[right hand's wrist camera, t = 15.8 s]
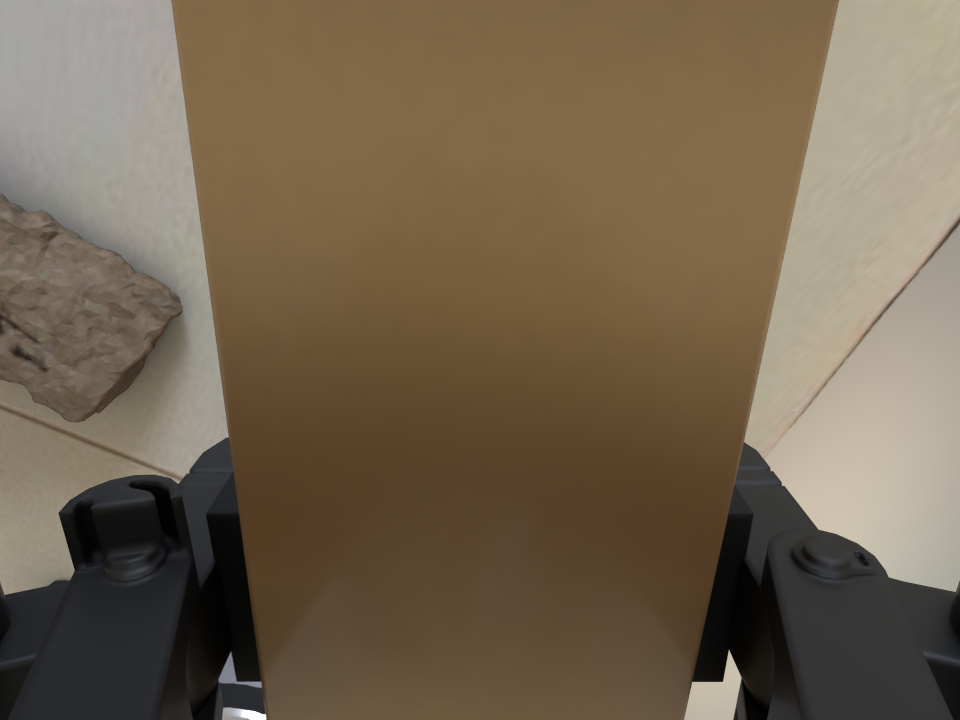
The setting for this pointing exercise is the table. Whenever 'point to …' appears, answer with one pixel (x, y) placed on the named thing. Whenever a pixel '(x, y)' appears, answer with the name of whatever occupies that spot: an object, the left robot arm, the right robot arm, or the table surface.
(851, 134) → the table surface
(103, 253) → the stone
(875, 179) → the table surface
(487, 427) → the bar
